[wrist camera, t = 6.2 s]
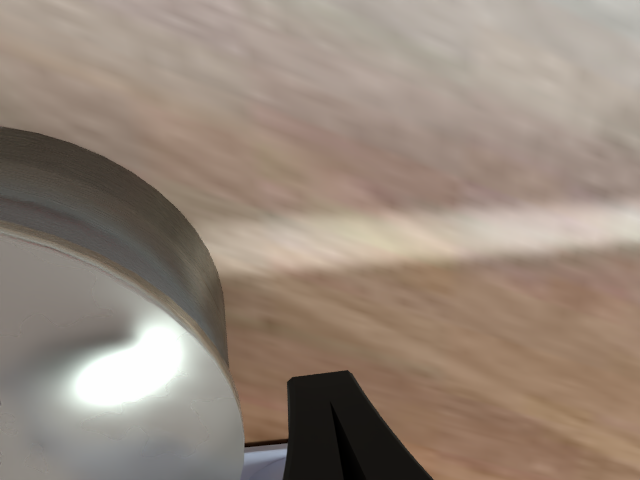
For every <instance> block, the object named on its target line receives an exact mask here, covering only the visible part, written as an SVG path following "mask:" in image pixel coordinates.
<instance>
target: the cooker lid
mask: <svg viewBox="0 0 640 480" xmlns="http://www.w3.org/2000/svg"><path fill="white" fill-rule="evenodd" d="M243 464H244V428H243V418H242V412H241V406H240V400H239V395H238V392H237V389H236V387H235V384H234V381H233V378H232V376H231V373H230V370H229V368H228V367H227V365H226V363H225V362H224V360H223V358H222V356H221V355H220V353H219V351H218V350H217V348H216V346H215V345H214V343H213V342H212V341H211V340H210V339H209V337H208V336H207V335H206V334H205V332H204V331H203V330H202V329H201V327H200V326H199V325H198V324H197V323H196V321H195V320H194V319H193V318H192V317H190V316H189V315H188V314H187V313H186V312H185V311H184V310H183V309H182V308H181V307H180V306H178V305H177V304H176V303H175V302H174V301H173V300H172V299H171V298H170V297H169V296H167V295H166V294H164V293H163V292H162V291H160V290H159V289H157V288H156V287H155V286H153V285H152V284H150V283H149V282H147V281H146V280H145V279H143V278H142V277H140V276H139V275H138V274H136V273H134V272H132V271H130V270H129V269H127V268H125V267H123V266H121V265H119V264H118V263H116V262H114V261H112V260H110V259H108V258H106V257H105V256H103V255H101V254H99V253H97V252H94V251H92V250H89V249H87V248H85V247H82V246H80V245H77V244H75V243H72V242H70V241H68V240H65V239H63V238H60V237H58V236H55V235H52V234H49V233H45V232H42V231H38V230H35V229H32V228H28V227H25V226H21V225H18V224H15V223H11V222H8V221H3V220H0V480H240V478H241V473H242V469H243Z"/></svg>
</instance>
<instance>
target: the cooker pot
mask: <svg viewBox="0 0 640 480" xmlns="http://www.w3.org/2000/svg"><path fill="white" fill-rule="evenodd" d="M0 220H3V221H8V222H11V223H15V224H18V225H21V226H25V227H28V228H32V229H35V230H38V231H42V232H45V233H49V234H52V235H55V236H58V237H60V238H63V239H65V240H68V241H70V242H72V243H75V244H77V245H80V246H82V247H85V248H87V249H89V250H92V251H94V252H97V253H99V254H101V255H103V256H105V257H106V258H108V259H110V260H112V261H114V262H116V263H118V264H119V265H121V266H123V267H125V268H127V269H129V270H130V271H132V272H134V273H136V274H138V275H139V276H140V277H142V278H143V279H145V280H146V281H147V282H149V283H150V284H152V285H153V286H155V287H156V288H157V289H159V290H160V291H162V292H163V293H164V294H166V295H167V296H169V297H170V298H171V299H172V300H173V301H174V302H175V303H176V304H177V305H178V306H180V307H181V308H182V309H183V310H184V311H185V312H186V313H187V314H188V315H189V316H190V317H192V318H193V319H194V320H195V321H196V323H197V324H198V325H199V326H200V327H201V329H202V330H203V331H204V332H205V334H206V335H207V336H208V337H209V339H210V340H211V341H212V342H213V343H214V345H215V346H216V348H217V350H218V351H219V353H220V355H221V356H222V358H223V360H224V362H225V363H226V365H227V367H228V368H229V362H228V348H227V335H226V321H225V309H224V298H223V291H222V287H221V283H220V279H219V275H218V272H217V269H216V267H215V265H214V263H213V260H212V258H211V256H210V253H209V251H208V249H207V248H206V246H205V245H204V243H203V241H202V240H201V238H200V237H199V235H198V233H197V232H196V230H195V229H194V228H193V227H192V225H191V224H190V223H189V222H188V221H187V219H186V218H185V217H184V216H183V215H182V213H181V212H180V211H179V210H178V209H177V208H176V207H175V206H174V205H173V204H172V203H171V202H169V201H168V200H167V199H166V198H165V197H164V196H163V195H162V194H161V193H160V192H159V191H157V190H156V189H155V188H153V187H152V186H151V185H149V184H148V183H146V182H145V181H144V180H142V179H141V178H139V177H138V176H137V175H135V174H134V173H132V172H131V171H129V170H127V169H125V168H123V167H122V166H120V165H118V164H116V163H114V162H113V161H111V160H109V159H107V158H105V157H103V156H101V155H99V154H96V153H94V152H91V151H89V150H87V149H84V148H82V147H79V146H77V145H75V144H72V143H69V142H65V141H62V140H59V139H55V138H52V137H48V136H45V135H41V134H38V133H33V132H27V131H21V130H16V129H10V128H5V127H0Z"/></svg>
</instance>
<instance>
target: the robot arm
mask: <svg viewBox="0 0 640 480" xmlns="http://www.w3.org/2000/svg"><path fill="white" fill-rule="evenodd" d="M287 393H288V429H289V438H288V443H286V444H276V445H265V446H255V447H245V448H244V464H243V469H242V473H241V478H240V480H433V478H432V477H431V476H430V475H429V474H428V473H427V472H426V471H425V470H424V469H423V467H422V466H421V465H420V464H419V463H418V462H417V461H416V459H415V458H414V457H413V456H412V455H411V454H410V452H409V451H408V450H407V449H406V448H405V446H404V445H403V444H402V443H401V441H400V440H399V439H398V438H397V436H396V435H395V434H394V433H393V432H392V430H391V429H390V428H389V426H388V425H387V424H386V423H385V421H384V420H383V419H382V417H381V416H380V415H379V413H378V412H377V410H376V409H375V408H374V406H373V405H372V403H371V402H370V401H369V399H368V398H367V396H366V395H365V393H364V392H363V390H362V389H361V387H360V386H359V384H358V383H357V381H356V379H355V378H354V376H353V374H352V373H350V372H349V371H348V370H346V371H338V372H330V373H322V374H314V375H306V376H299V377H292V378H291V379H290V380H289V381H288V382H287Z"/></svg>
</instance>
